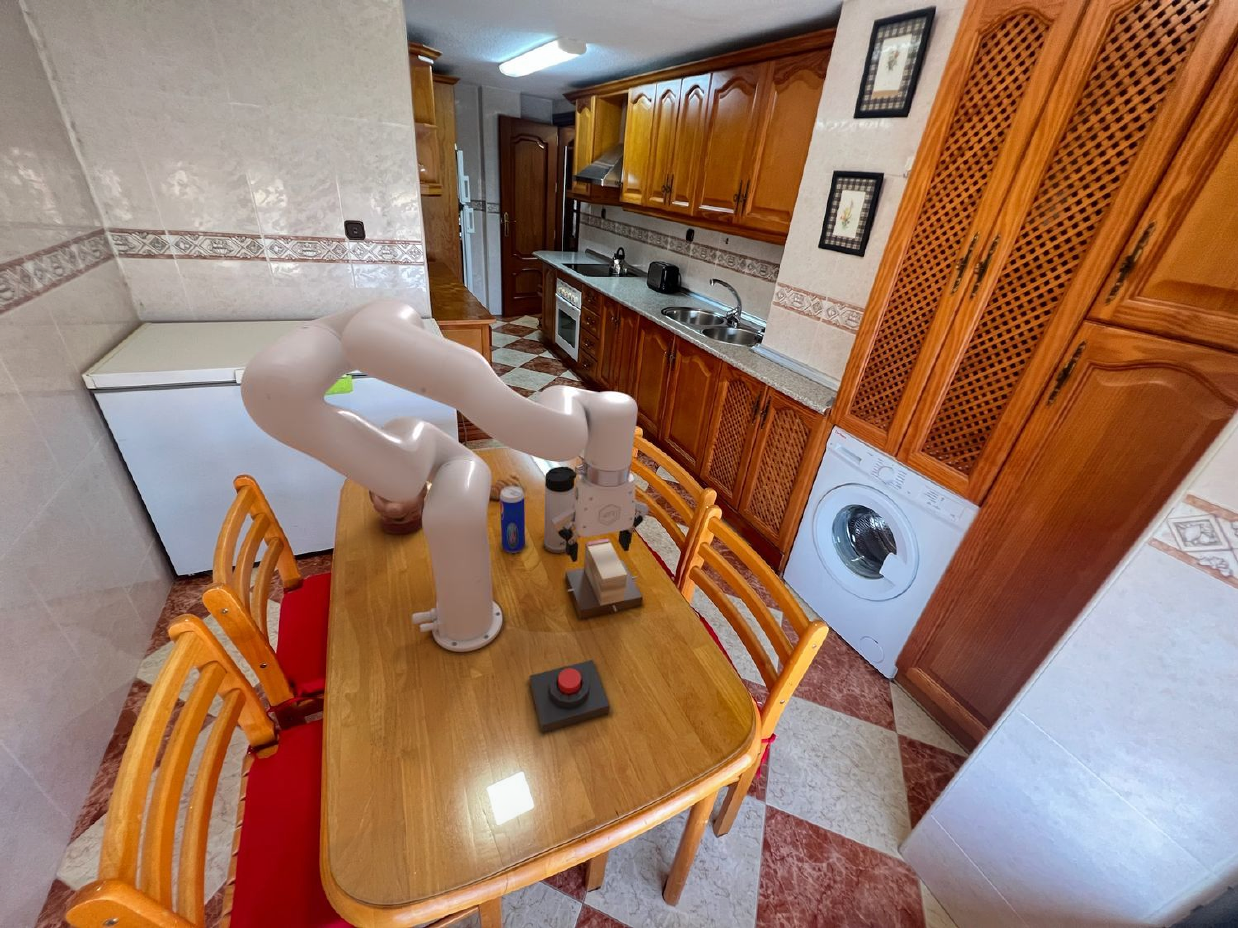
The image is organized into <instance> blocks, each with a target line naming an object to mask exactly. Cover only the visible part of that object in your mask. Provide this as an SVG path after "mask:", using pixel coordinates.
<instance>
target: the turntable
mask: <svg viewBox="0 0 1238 928" xmlns="http://www.w3.org/2000/svg"><path fill="white" fill-rule="evenodd" d="M620 561H621V563H622V565H623V567H624V569H625V571H626V573H627V581H626V589H625V597H624V601H620V602H615V603H610V604H606V605H601V606H600V604H599V601H598V599H597V597H596V595H595V592H594V590H593V588H592V585H591V583H590V581H589V578H588V576H587V574H586V571H585V569H584V567H583V568H578V569H572V570H567V571H565V577H564V578H565V584H566V586H567V590H566V591H567V592H569V594H570V596H571V600H572V603H573V604H574V607H575V610H576V613H577V615H578V618H579V620H583V619H588V618H592V617H596V616H600V615H605V614H610V613H614V612H619V611H623V610H627V609H633V608H636V607H642V603H643V595H642V593H641V591H640V590H639V587H638V586H637V584H636V581H635V580H634V579H638V578H639V577H638V575H635V576H632V575H631V573H630V571H629V569H628V567H627V565H626V563H625V561H624V560H620Z"/></svg>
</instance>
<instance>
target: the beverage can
mask: <svg viewBox="0 0 1238 928" xmlns="http://www.w3.org/2000/svg"><path fill="white" fill-rule="evenodd" d="M499 512H500V533H501V534H500V535H501V536H500V537H501V548H502V549H503V550H504V551H506V552H507V553H510V554H511V553H512V554H513V553H518V552H521V551H522V550H523V549H524V548H525V547H526V519H525V517H526V514H525V513H526V512H525V493H524V490H522V489H521V488H520V487H517V486H508V487H505V488H504V489H502V491H501V493H500V499H499Z"/></svg>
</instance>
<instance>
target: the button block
mask: <svg viewBox="0 0 1238 928" xmlns="http://www.w3.org/2000/svg"><path fill="white" fill-rule="evenodd" d="M568 668H572V669H575V670H577V671H578V672H579V673H580V675H581V685H580V689H579V690H578V691H577V692H576V693H574V694H572V695H566V694H564V693H562V692H561V691H560V690H559V688H558V677H559V674H560V673H561V672H562V671H563V670H564V669H568ZM529 686H530V690H531V694H532V699H533V702H534V706H535V711H536V716H537V719H538V723H539V727H540V732H541V734H545V733H549V732H552V731H555V730H559V729H562V728H565V727H568V726H573V725H574V724H578V723H581V722H585V721H589V720H591V719H595V718H599V717H602V716H605V715H609V713H610V708H611V707H610V702H609V700H608V697H607V695H606V692H605V689H604V686H603V684H602V680H601V677H600V675H599V673H598V670H597V667H596V664H595V662H594V660H593V659H589V660H586V661H582V662H577V663H573V664H570V665H566V666H562V667H558V668H555V669H551V670H550V669H549V670H546V671H543V672H539V673H535V674H531V675H530V676H529Z"/></svg>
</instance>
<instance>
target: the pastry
mask: <svg viewBox="0 0 1238 928" xmlns="http://www.w3.org/2000/svg"><path fill="white" fill-rule="evenodd" d="M508 486H517V487H520V488H521V489H522V490H523V491H524V490H525V487H524V483H523V482H522V481H521V479H520V477H519V476H518V475H516V474H510V475H508V476H505V477H501V478H499V479H498V480H496V481H495V482H494V483H493V484H491V491H490V497H489V499H493V500H497V501H498V500H499V501H500V493H501V491H502V489H504V488H505V487H508Z"/></svg>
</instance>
